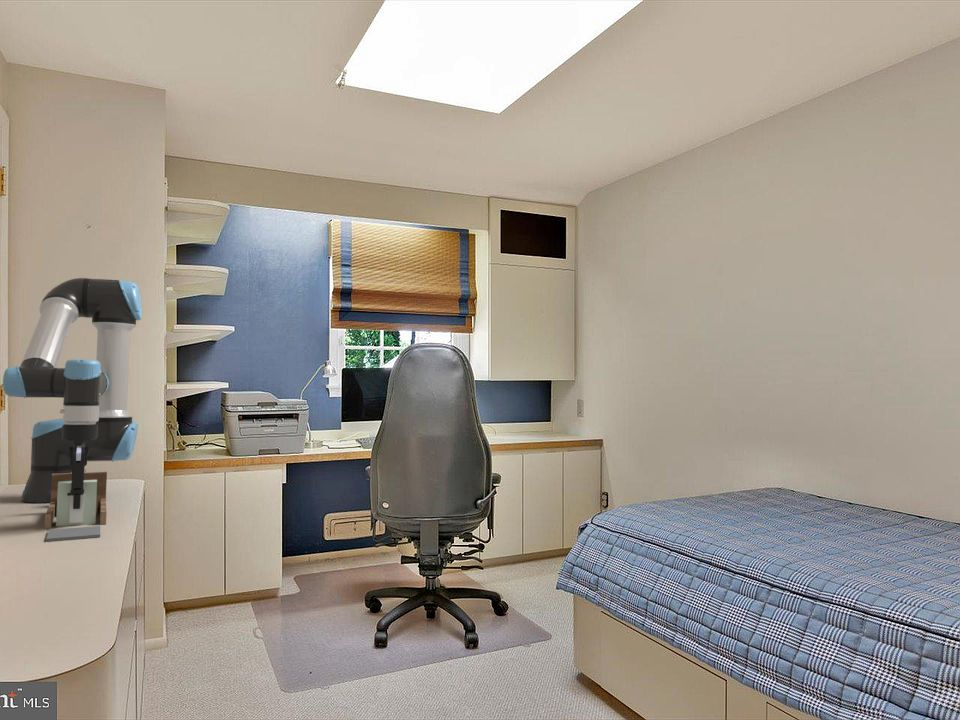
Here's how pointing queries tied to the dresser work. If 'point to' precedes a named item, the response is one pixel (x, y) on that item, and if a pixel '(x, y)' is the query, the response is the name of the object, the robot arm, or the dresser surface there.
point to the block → (88, 503)
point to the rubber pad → (73, 533)
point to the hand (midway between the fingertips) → (76, 520)
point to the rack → (98, 476)
